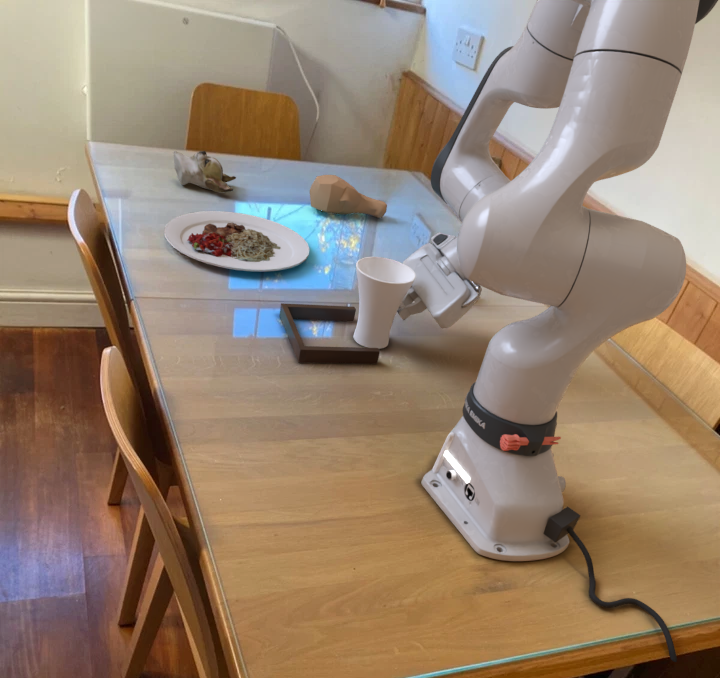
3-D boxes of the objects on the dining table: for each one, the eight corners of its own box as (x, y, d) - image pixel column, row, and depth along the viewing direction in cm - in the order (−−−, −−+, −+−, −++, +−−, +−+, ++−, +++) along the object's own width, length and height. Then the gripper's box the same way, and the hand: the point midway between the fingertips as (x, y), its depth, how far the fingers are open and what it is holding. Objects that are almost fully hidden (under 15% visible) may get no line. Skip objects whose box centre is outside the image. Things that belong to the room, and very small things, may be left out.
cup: (353, 355, 121) (368, 282, 113) (334, 325, 129) (347, 255, 120) (407, 354, 125) (426, 284, 117) (386, 325, 133) (402, 257, 124)
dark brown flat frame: (377, 364, 121) (380, 351, 119) (298, 362, 116) (300, 349, 114) (351, 318, 132) (354, 306, 131) (279, 315, 128) (280, 303, 126)
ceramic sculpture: (177, 137, 169) (239, 152, 172) (174, 174, 174) (234, 188, 177) (171, 150, 161) (236, 166, 164) (168, 188, 166) (231, 202, 169)
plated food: (333, 253, 155) (335, 238, 153) (256, 293, 133) (258, 276, 131) (222, 209, 163) (223, 195, 161) (132, 240, 140) (132, 223, 138)
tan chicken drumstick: (300, 203, 177) (309, 165, 173) (373, 221, 184) (383, 186, 180) (309, 211, 168) (318, 172, 164) (385, 230, 175) (396, 193, 171)
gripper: (493, 305, 117) (426, 355, 120) (450, 253, 131) (390, 299, 134) (477, 279, 113) (407, 331, 116) (434, 228, 127) (373, 276, 130)
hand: (398, 313), depth 125 cm, fingers closed, pressing on cup
